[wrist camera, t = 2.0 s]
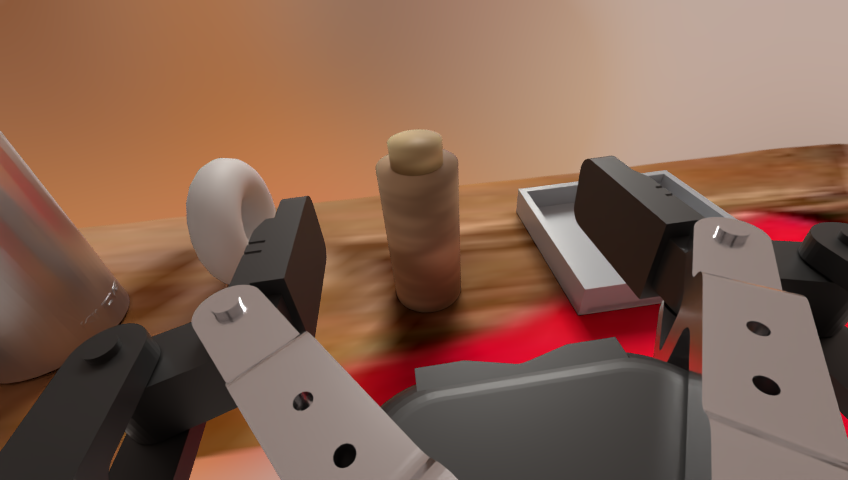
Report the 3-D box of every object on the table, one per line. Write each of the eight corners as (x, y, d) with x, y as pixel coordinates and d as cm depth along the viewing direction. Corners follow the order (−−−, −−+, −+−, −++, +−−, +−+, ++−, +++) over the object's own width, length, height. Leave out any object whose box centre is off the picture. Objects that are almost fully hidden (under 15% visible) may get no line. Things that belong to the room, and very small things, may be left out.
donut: (256, 238, 36) (213, 139, 30) (292, 234, 36) (256, 134, 30) (219, 316, 28) (151, 203, 22) (265, 311, 28) (209, 197, 22)
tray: (578, 315, 26) (585, 289, 24) (516, 211, 36) (518, 189, 35) (775, 286, 26) (794, 259, 25) (657, 193, 37) (665, 170, 35)
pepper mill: (398, 316, 27) (371, 163, 19) (394, 271, 31) (371, 129, 23) (467, 307, 27) (465, 151, 20) (454, 262, 31) (449, 120, 24)
